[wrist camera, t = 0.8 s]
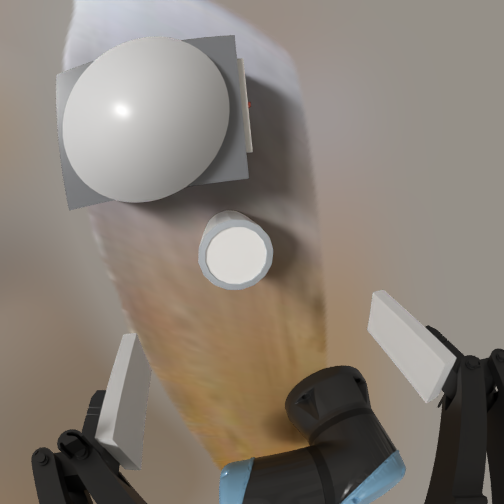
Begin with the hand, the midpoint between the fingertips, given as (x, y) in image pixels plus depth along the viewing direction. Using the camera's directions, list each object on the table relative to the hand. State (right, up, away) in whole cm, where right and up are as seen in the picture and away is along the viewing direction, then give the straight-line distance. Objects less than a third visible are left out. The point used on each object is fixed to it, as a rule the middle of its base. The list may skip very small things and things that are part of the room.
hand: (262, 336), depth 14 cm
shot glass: (-3, +6, +17) cm, 19 cm away
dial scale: (-10, +18, +12) cm, 23 cm away
